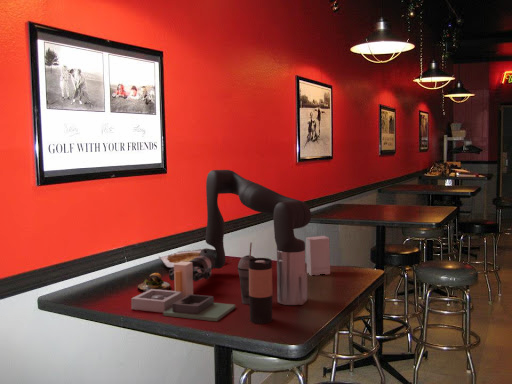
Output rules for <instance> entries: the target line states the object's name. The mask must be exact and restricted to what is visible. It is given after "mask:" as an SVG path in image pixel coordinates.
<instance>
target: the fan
mask: <svg viewBox="0 0 512 384" xmlns="http://www.w3.org/2000/svg"><path fill="white" fill-rule="evenodd" d="M182 298H183V292H180V291H175V290H170V289H169V290H165V289H163V290H158V289H150V290H148V291H143V292H142V293H139V294H138V295H136V296H133V297H132V298H130V300H131V303H130V304H131V305H130V307H131V310H135V311H142V312H143V311H144V312H153V313H154V312H155V313H162V314H163V312H165V311H166V310H168V309H170V308H172V304H173V303H175V302H176V301H178V300H180V299H182Z"/></svg>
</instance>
